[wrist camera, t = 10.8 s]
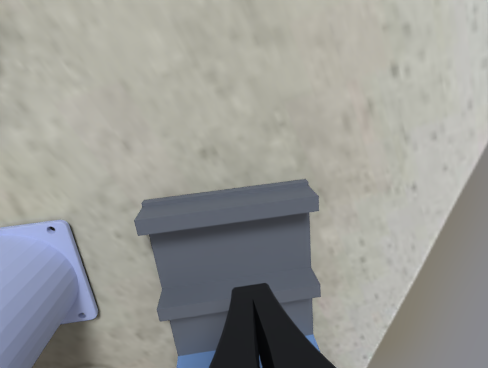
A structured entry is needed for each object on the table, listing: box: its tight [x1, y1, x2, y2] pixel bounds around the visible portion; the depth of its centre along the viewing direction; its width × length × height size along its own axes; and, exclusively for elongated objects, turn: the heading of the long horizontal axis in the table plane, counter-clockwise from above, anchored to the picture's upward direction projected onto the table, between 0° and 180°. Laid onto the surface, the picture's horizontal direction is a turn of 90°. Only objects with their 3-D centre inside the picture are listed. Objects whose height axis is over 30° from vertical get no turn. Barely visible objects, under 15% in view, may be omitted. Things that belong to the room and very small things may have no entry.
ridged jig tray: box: [134, 179, 321, 368], centre depth 22 cm, size 11×21×3 cm, turn 6°
